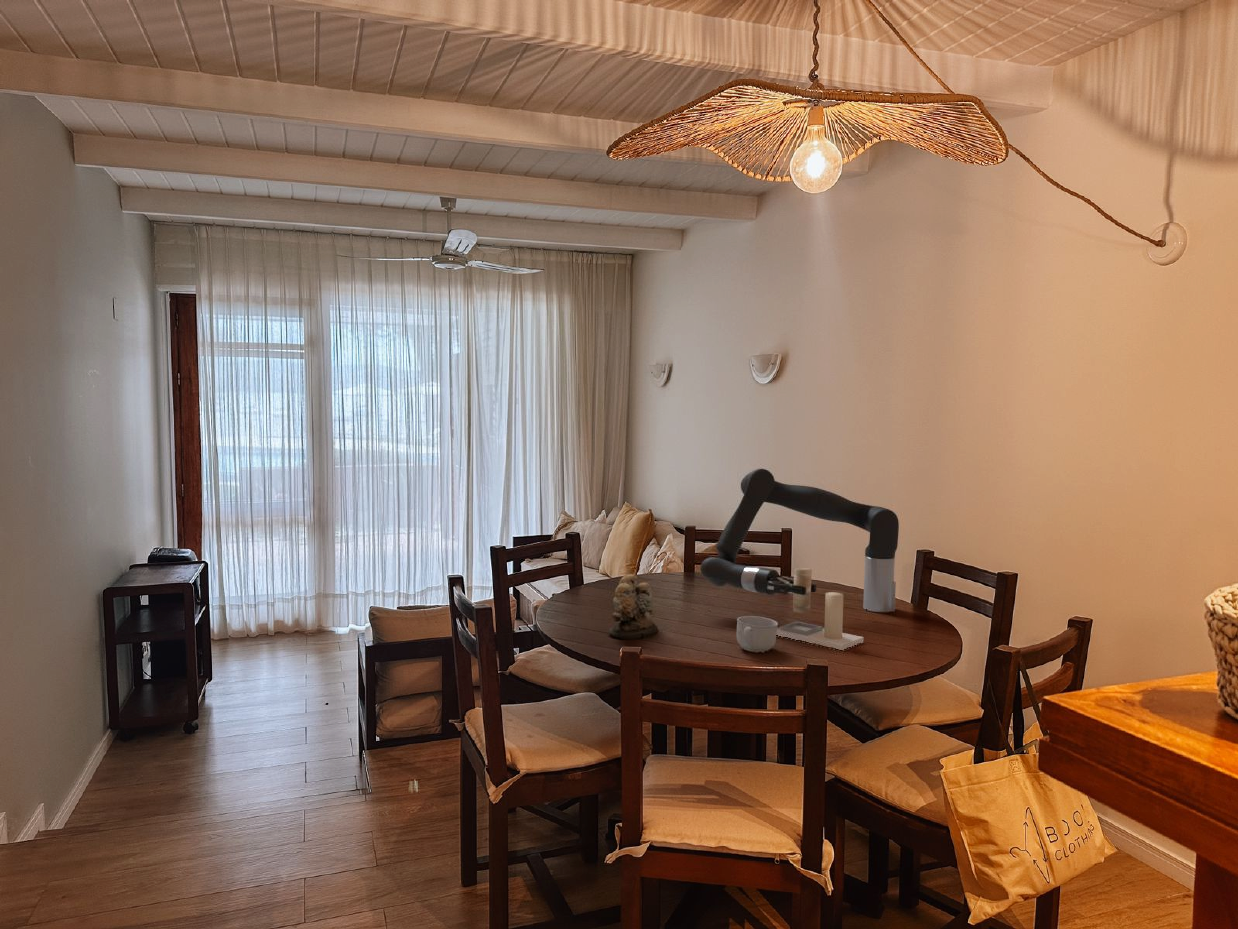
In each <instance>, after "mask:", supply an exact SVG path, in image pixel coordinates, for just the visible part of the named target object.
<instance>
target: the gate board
mask: <svg viewBox="0 0 1238 929" xmlns="http://www.w3.org/2000/svg"><path fill="white" fill-rule="evenodd" d="M824 603H825V604H824V626H823V625H818V624H812V623H807V622H802V621H798V620H795V621H794V622H790V623H787V624H784V625H781V626H780V627H777V635H778V636H777V637H779V636H781V637H780V638H783V637H788V638H791V639H790V640H792V639H795V640H794V641H796V640H802V641H806V642H809V643H816V644H820V645H823V646H827V647H833V648H836V649H839V650H843V651H845V650H844V649H846V648H847V647H851V648H853V647H855V646H854V645H856V646H857V644H858V643H861V644H863V643H864V636H859V635H856V634H855V635H854V634H851V633H845V632H843V622H844V619H843V618H844V617H843V616H844V614H843V613H844V594H843V593H842V592H837V591H836V592H834V591H833V592H832V591H831V592H830V591H829V592H825V599H824ZM788 638H787V639H788ZM809 643H808V644H809ZM858 645H859V644H858ZM852 646H853V647H852ZM839 650H838V651H839ZM846 650H847V649H846Z"/></svg>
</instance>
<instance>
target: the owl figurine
mask: <svg viewBox="0 0 1238 929" xmlns="http://www.w3.org/2000/svg"><path fill="white" fill-rule="evenodd" d="M612 602H613V606H614V612H613V613H610V616H611V617H612V618H613V620H614V622H617V623H616V624H614V625H613V626H612V627H611V628H610V629H609V630H608V635H609V636H610V637H611V638H612V637H613V638H618V639H623V640H638V639H642V638H644V637H646V638H648V637H651V635H652V636H654V635H655V634H656V633H657V632H658V629H659V627H658V625H656V624H655V622H654V617H655V614H656V609H654V608H653V606H654V600H653V592H652V588H651V585H650V584H649V582H640V583H638V576H636V575H635V574H630V573H627V574H625V575H623V576H622V577H621V579H620V580H619V583H618V585H617V587H616V588H615V591H614V598H613V599H612ZM653 634H654V635H653Z"/></svg>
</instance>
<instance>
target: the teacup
mask: <svg viewBox="0 0 1238 929" xmlns="http://www.w3.org/2000/svg"><path fill="white" fill-rule="evenodd" d="M736 623H737V624H736V641H737V643H738V644H739V646H741V647H742V649H743V650H744V651H748V652H751V653H759V652H761V653H766V652H765V651H767V652H768V651H769V650H771V649H773V648H774V647H775V644H776V642H777V636H776V635H777V628H778V626H779V623H778V622H777V621H776V620H774V619H772V618H768V617H763V616H757V615H756V616H755V615H743V616H740V617H737V618H736Z"/></svg>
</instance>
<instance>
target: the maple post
mask: <svg viewBox="0 0 1238 929" xmlns="http://www.w3.org/2000/svg"><path fill="white" fill-rule="evenodd" d="M793 572H794V574H793V577H794V585H797V586H803V587H806V594H805V595H801V594H796V593H792V595H793V598H792V611H793V613H799V614H801V613H802V614H808V613H810V612H811V594H812V592H811V584H812V572H813V571H812V569H811V568H808V567H795V568H794V570H793Z"/></svg>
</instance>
